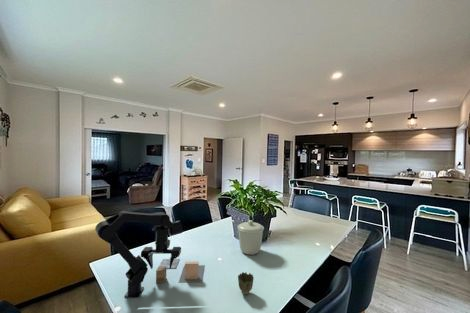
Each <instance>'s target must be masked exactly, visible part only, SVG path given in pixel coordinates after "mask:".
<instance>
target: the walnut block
mask: <svg viewBox="0 0 470 313" xmlns="http://www.w3.org/2000/svg"><path fill="white" fill-rule="evenodd" d="M167 270H168V269H167V266H159V265H158V267H157V269H156V270H155V273H156V274H155V275H156V276H155V284H165V283H166V281H167Z"/></svg>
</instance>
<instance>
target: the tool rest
mask: <svg viewBox="0 0 470 313" xmlns="http://www.w3.org/2000/svg"><path fill="white" fill-rule="evenodd" d="M179 262H180V258H176V259H174V260H173V263H172V266H171V269H175V270H176V269H177V267H178V264H179ZM159 266H167V270H170V258H162V260H161V262H160V264H159V265H158V267H159Z"/></svg>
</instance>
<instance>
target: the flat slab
mask: <svg viewBox="0 0 470 313" xmlns="http://www.w3.org/2000/svg"><path fill="white" fill-rule="evenodd" d="M199 263H200V261H185V262H184V266H185V278H184V279H198V277H199Z"/></svg>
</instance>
